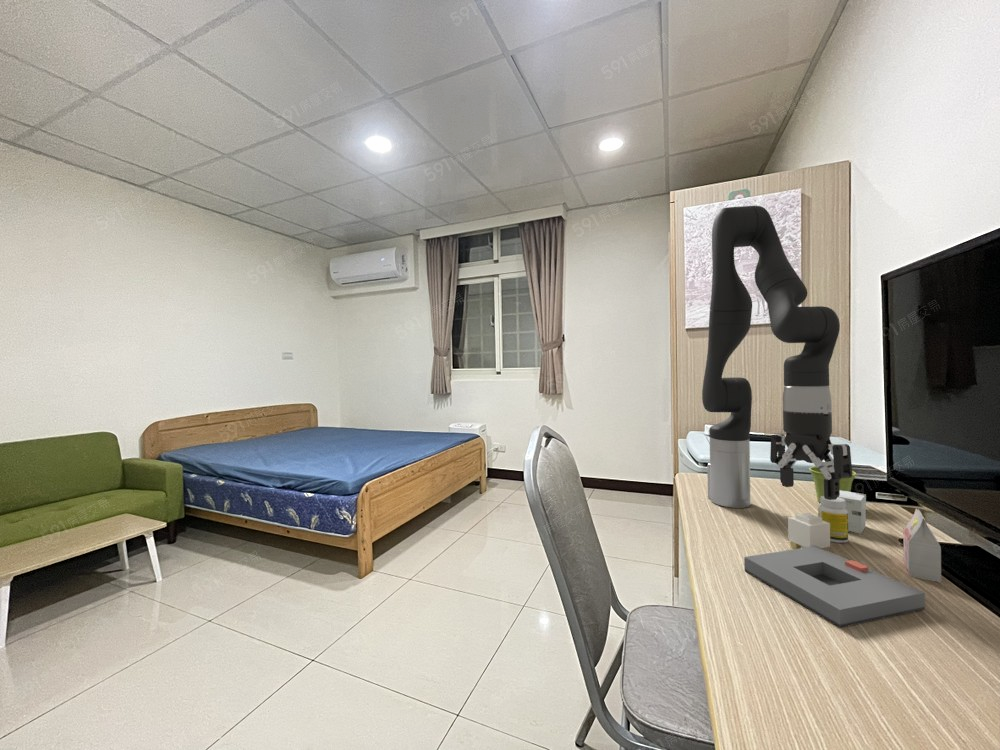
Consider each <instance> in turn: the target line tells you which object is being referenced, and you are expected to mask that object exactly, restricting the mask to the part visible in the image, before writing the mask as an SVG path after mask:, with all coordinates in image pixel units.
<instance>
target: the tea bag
mask: <svg viewBox="0 0 1000 750" xmlns="http://www.w3.org/2000/svg"><path fill="white" fill-rule="evenodd" d="M902 531H903V535H902V536H903V537H902V538H903V563H904V565H905V568H906V571H907V573H908V576H909V577H914V578H917V579H922V578H923V579H922V580H926V579H929V580H928V581H931V580H932V582H935V581H938V582H937V583H940V582H941V583H942V547H941V545H940V543H939V542H938V540H937V538H936V537H935V534H933V531H932V530H931V529H930V527H929V525H928V523H927V522H926V518H925V517H924V515H923V514H922V512H921V510H920V509H917V508H915V510H914V513H913V515H912V517H911V518H910V519H909V520H908V522H907V523H906V525H905V526H904V528H902Z"/></svg>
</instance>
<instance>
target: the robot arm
mask: <svg viewBox="0 0 1000 750" xmlns="http://www.w3.org/2000/svg"><path fill="white" fill-rule="evenodd" d="M711 230H712V231H711V259H712V261H711V262H712V263H711V264H712V268H711V269H712V275H711V276H712V277H711V278H712V280H711V291H710V292H711V295H710V303H709V304H710V305H709V317H708V318H709V319H708V339H707V340H708V343H707V355H706V363H705V369H704V376H703V383H702V388H701V389H702V390H701V400H702V404H703V408H704V409H705V410H706V411H707V412H709V413H730V415H729V417H728V418H727V419H725V420H723V421H722V422H718V423H715V424H713V425H710V427H709V433H708V434H709V462H708V463H707V466H706V469H707V474H706V475H707V499H709V500H710V501H711V502H712V503H714V504H716V505H719V506H722V507H726V508H732V509H734V508H736V509H744V508H748V507H751V449H750V448H751V445H750V444H751V442H750V436H751V434H750V432H751V428H752V409H753V408H752V405H753V393H752V391H753V390H752V386H751V384H750V382H749V380H748V379H747V378H745V377H723V374H724V369H725V367H726V364H727V362H728V361H729V359H730V357H731V356H732V354H733V353H734V351H735V350H736V349H737V348H738V347H739V345H740V344H741V343H742V342H743V340H744V339H745V337H746V336H747V335H748V333H749V331H750V328H751V323H752V313H753V300H752V297H751V294H750V292H749V291H748V289H747V287H746V285H745V284H744V283H743V280H742V279H741V278H740V276H739V274H738V272H737V271H738V270H737V268H736V265H735V264H736V263H735V248H745V247H752V248H753V249H754V250H755V251H756V253H758V261H757V263H756V266H755V271H754V282H755V285H756V288H757V289H758V291H759V293H760V294H761V296H762V297H763V299H764V301H765V302H766V304H767V310H768V316H769V323H770V329H771V331H772V333H773V335H774V337H775V338H777V339H778V340H779V341H781V342H782V343H787V344H804V345H803V348H802V350H801V353H799V354H797V355H793V356H789V357H787V358H786V359H785V360H784V363H783V392H782V426H783V427H782V428H783V429H782V430H783V431H784V432H785V434H784V433H781V434H771V436H770V452H769V453H770V454H769V455H770V456H769V457H770V458H769V459H770V462H771V463H773V464H776V465H777V466H778V467H779V476H780V478H779V480H780V484H781V485H782V487H785V488H792V487H794V485H795V483H794V482H795V481H794V478H795V477H794V468H793V466H794V465H795V464H796V463H797V462H798V461H801V462H802V461H803V462H806V463H808V464H813V465H814V467H816V468H818V469H820V470H821V472H822V473H823V475H824V476H825V478H826V479H824V498H825V499H828V500H835V499H837V497H839V495H840V492H839V491H840V483H839V481H840V479H842V478H851V477H852V471H853V467H852V466H853V465H852V453H851V446H850V445H849V444H847V443H841V444H839V443H837V444H835V443H832V441H831V435H832V434H833V417H832V416H833V411H832V409H833V408H832V401H833V400H832V395H831V394H832V393H831V389H830V364H831V363H830V362H831V360H832V357H833V354H834V351H835V347H836V344H837V341H838V338H839V334H840V331H841V330H840V328H841V323H840V319H839V317H838V315H837V313H836V311H835V310H834V309H832V308H830V307H829V306H820V305H819V306H818V305H817V306H816V305H815V306H800V305H801V304H803V303H804V301H806V299H807V297H808V289H807V286H806V285H805V284H804V282H803V281H802V279H801V278H800V276H799V274H798V273H797V272H796V271H795V269H794V268H793V266H792V265H791V263H790V261H789V259H788V258H787V257H788V256H786V253H785V250H784V249H783V245H782V242H781V240H780V237H779V235H778V232H777V229H776V227H775V224H774V221H773V219H772V216H771V214H770V213H769V211H768V210H767V208H765V207H763V206H760V205H744V206H729V207H723V208H721V209H720V210H719V211H717V212H716V215H715V216H714V219H713V223H712V228H711ZM786 447H787V449H786ZM831 455H832V456H831Z"/></svg>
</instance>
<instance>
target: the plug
mask: <svg viewBox="0 0 1000 750" xmlns="http://www.w3.org/2000/svg"><path fill="white" fill-rule="evenodd" d="M787 529H788V530H787V535H788V537H787V539H788V541H790V542H789V543H790V548H791V549H792V550H793V549H799V548H806V547H812V546H817V547H820V548H822V549H825V548H830V547H831V541H830V523H828V522H825V521H823V520H822V518H821V517H818V516H817V515H815V514H812V513H809V512H806V513H805V512H804V513H797V514H795V515H794V516H790V517H787Z"/></svg>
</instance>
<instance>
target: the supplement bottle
mask: <svg viewBox="0 0 1000 750" xmlns="http://www.w3.org/2000/svg"><path fill="white" fill-rule="evenodd" d="M819 503H820V505H818V508H817V509H818V510H817V514H818V517H821V518H822V520H823V521H825V522H828V523H830V543H838V544H839V543H840V544H844V543H848V542H849V531H848V511H847V510H846V509H845V506H846V504H845V500H844V499H842V498H839V497H837V499H835V500H828V499H825V498H824V496H821V497H820V502H819Z"/></svg>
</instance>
